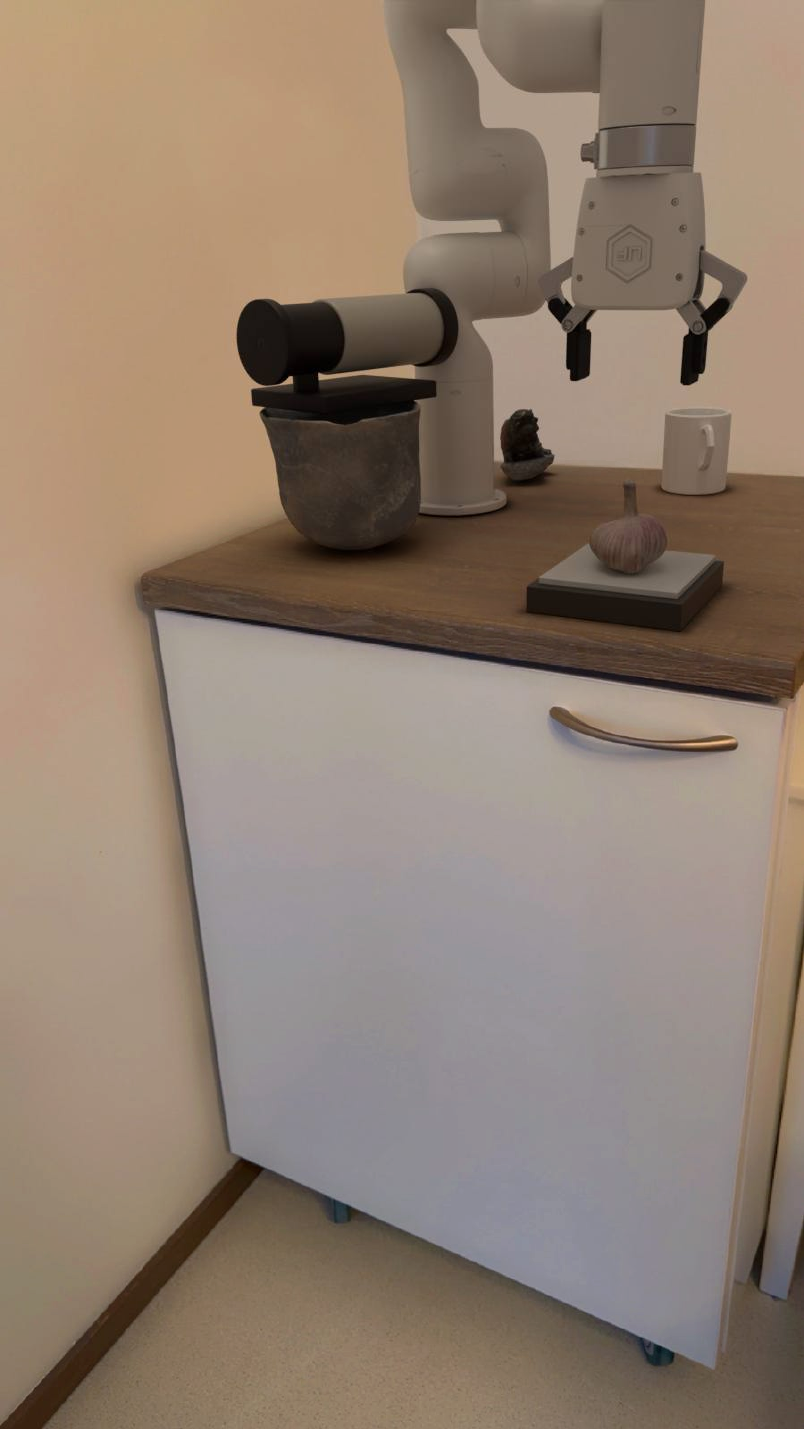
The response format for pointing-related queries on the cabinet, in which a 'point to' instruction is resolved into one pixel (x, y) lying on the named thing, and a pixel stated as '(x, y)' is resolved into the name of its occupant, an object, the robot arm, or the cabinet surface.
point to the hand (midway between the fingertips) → (633, 381)
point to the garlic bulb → (629, 537)
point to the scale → (628, 589)
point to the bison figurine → (523, 447)
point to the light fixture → (344, 349)
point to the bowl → (348, 472)
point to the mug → (696, 450)
